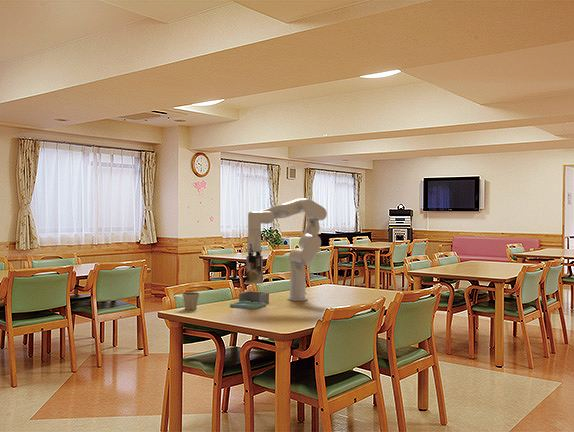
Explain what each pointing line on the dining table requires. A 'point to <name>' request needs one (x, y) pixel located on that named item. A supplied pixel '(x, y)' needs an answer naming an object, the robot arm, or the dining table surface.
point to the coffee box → (255, 270)
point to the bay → (254, 296)
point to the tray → (248, 304)
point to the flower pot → (190, 300)
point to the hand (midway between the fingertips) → (254, 261)
